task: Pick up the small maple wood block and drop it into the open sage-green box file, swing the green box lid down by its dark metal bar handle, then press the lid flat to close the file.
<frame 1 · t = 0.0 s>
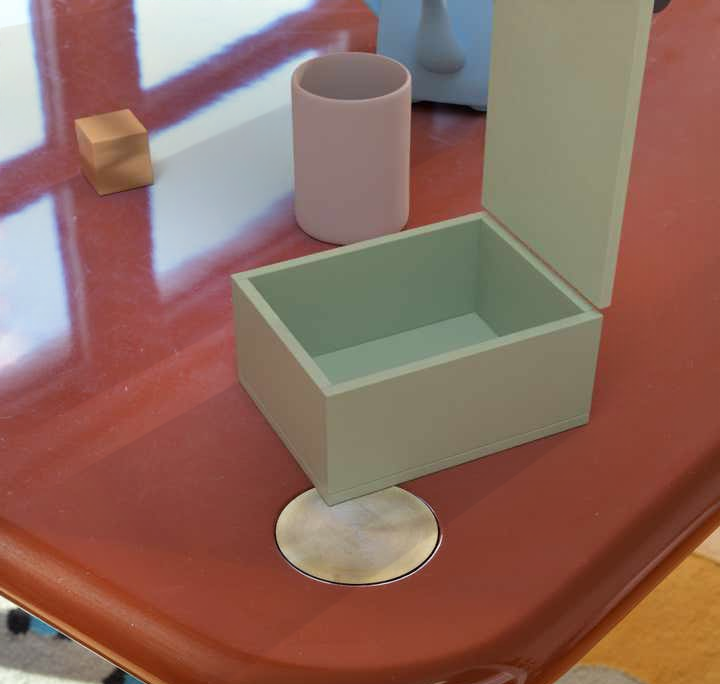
block: (117, 178, 107), on the table
mug: (344, 209, 103), on the table
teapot: (451, 94, 118), on the table
file box: (410, 401, 85), on the table
green box lid: (588, 101, 77), point 17 cm above the table, hinge at 90.0°
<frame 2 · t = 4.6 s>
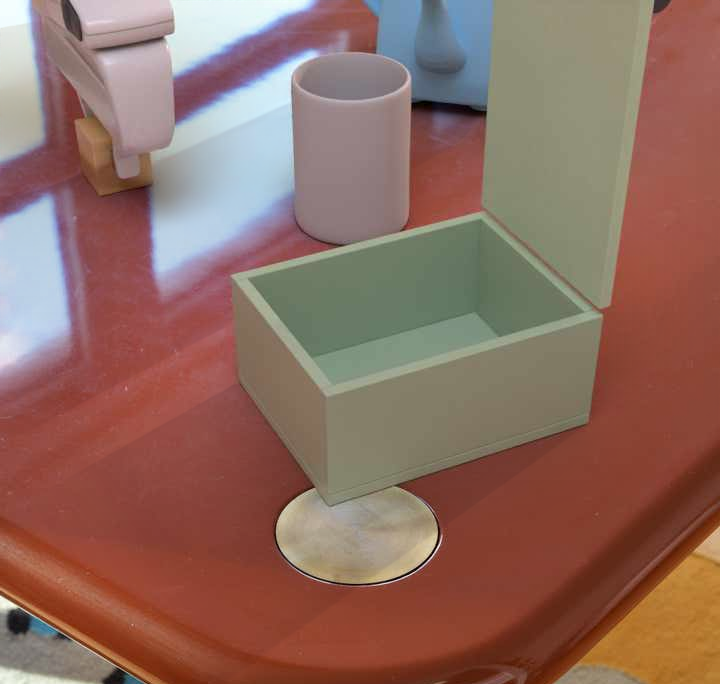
hand: (114, 158, 105), 2 cm above the table, tool pointing down, fingers closed on block, 4 cm apart
block: (117, 178, 107), on the table, touching gripper
everything else where it was.
when the fingers open (14 cm above the table, at t = 21.6 s): block stays where it is, resting on file box.
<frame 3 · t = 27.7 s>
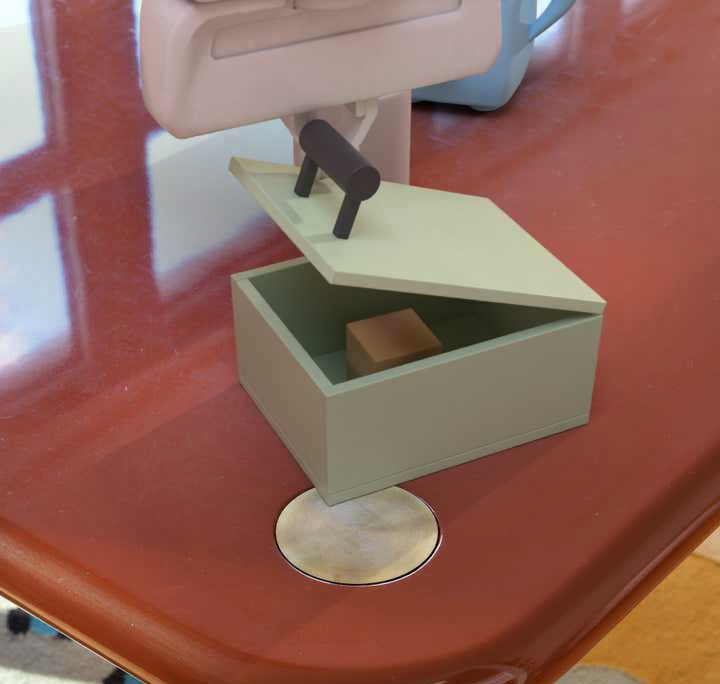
hand: (329, 172, 78), 14 cm above the table, tool pointing down, fingers closed
block: (392, 393, 84), point 1 cm above the table, touching file box
green box lid: (431, 201, 76), point 14 cm above the table, hinge at 21.3°, touching gripper
everything else where it was.
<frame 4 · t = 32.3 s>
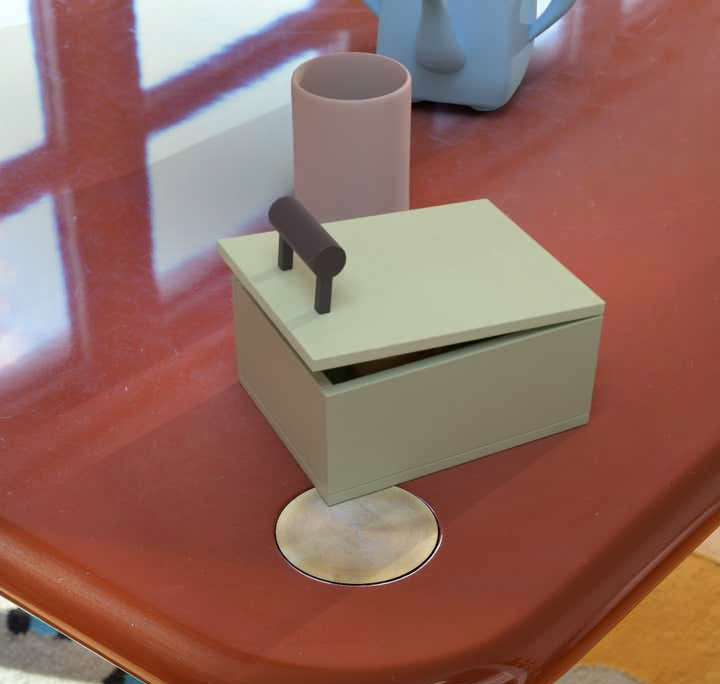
green box lid: (412, 243, 77), point 11 cm above the table, hinge at 5.3°
everything else where it was.
at the end: block inside the target area in the file box (1.1 cm from its centre), point 0.8 cm above the file box's base; green box lid at +5° (first picture: +90°) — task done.
